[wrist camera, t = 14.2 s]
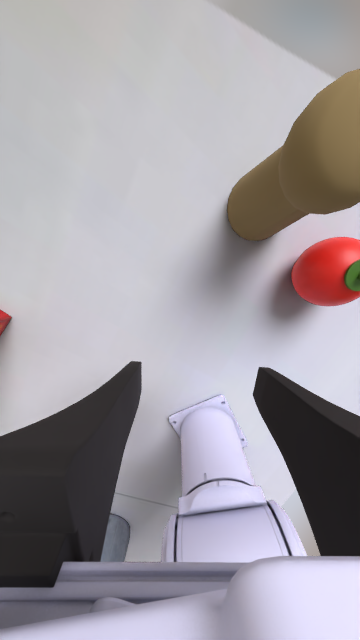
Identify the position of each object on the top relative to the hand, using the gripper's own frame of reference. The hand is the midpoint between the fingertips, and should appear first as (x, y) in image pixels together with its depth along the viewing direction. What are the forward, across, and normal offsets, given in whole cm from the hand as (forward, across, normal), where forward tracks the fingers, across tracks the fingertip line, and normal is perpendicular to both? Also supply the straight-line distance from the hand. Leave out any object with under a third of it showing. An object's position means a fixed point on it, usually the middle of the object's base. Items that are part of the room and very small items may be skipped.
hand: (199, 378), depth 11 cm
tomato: (+10, -12, -6) cm, 17 cm away
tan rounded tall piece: (+11, -6, -12) cm, 17 cm away
